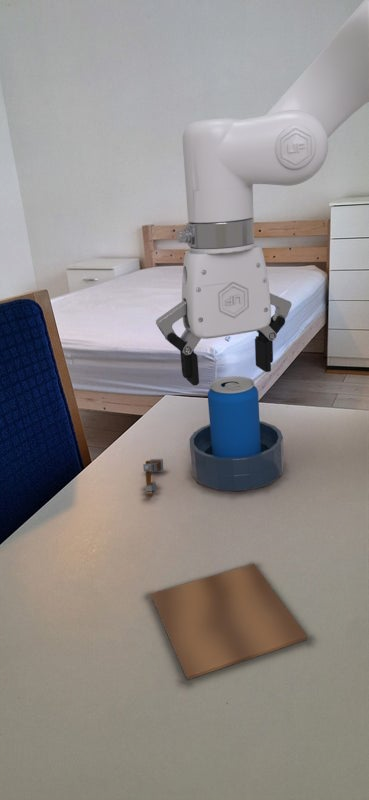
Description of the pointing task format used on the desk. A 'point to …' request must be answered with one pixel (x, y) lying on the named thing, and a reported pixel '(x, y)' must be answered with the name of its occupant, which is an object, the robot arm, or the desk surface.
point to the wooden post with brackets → (149, 467)
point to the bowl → (237, 461)
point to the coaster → (225, 620)
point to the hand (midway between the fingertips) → (228, 375)
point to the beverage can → (234, 417)
